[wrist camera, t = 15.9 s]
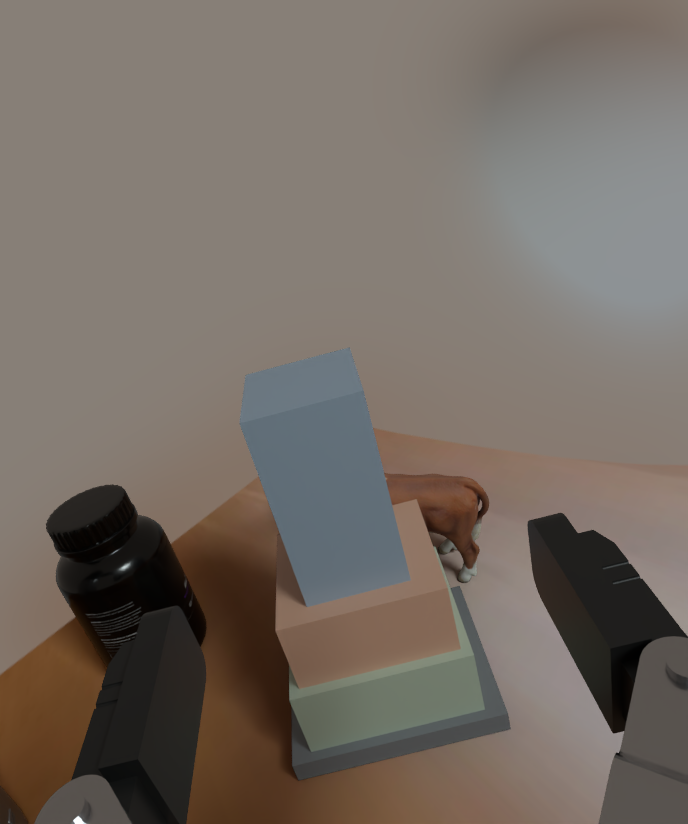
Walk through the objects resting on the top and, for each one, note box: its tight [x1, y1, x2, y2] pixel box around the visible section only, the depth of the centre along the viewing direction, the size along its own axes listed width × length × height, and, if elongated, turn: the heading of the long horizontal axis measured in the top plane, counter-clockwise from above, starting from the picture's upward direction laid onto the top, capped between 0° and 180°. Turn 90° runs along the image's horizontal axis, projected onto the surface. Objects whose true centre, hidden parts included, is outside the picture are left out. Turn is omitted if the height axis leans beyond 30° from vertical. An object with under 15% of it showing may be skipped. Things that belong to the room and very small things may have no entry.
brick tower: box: [275, 499, 511, 780], centre depth 32 cm, size 11×9×9 cm
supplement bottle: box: [46, 485, 206, 668], centre depth 38 cm, size 7×7×12 cm
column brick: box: [240, 348, 411, 607], centre depth 28 cm, size 5×5×10 cm
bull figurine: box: [384, 473, 489, 582], centre depth 41 cm, size 4×13×8 cm, turn 63°
